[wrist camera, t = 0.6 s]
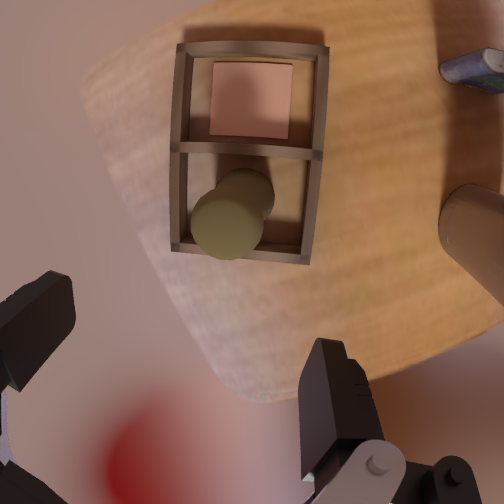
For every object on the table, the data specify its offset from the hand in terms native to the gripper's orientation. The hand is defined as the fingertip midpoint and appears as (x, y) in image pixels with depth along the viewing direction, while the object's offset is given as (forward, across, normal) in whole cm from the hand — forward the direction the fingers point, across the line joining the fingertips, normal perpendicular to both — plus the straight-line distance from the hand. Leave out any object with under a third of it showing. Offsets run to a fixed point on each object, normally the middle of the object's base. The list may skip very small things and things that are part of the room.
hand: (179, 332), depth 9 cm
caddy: (+22, +1, -5) cm, 23 cm away
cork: (+23, 0, 0) cm, 23 cm away
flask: (+22, -21, -20) cm, 37 cm away
